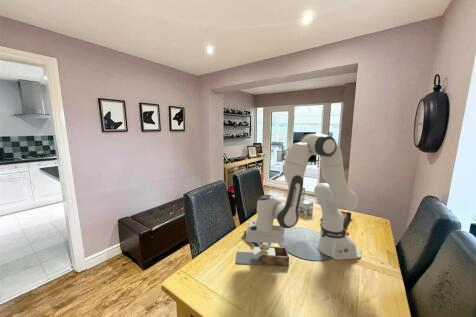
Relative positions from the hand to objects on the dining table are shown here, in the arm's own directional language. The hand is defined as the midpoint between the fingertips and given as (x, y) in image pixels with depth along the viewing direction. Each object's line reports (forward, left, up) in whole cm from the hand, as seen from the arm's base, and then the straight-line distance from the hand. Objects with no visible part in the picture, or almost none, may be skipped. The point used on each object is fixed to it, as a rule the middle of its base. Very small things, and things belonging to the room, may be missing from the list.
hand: (264, 249), depth 107 cm
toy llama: (-37, -65, -7) cm, 75 cm away
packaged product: (+5, -18, -7) cm, 20 cm away
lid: (0, 0, -2) cm, 2 cm away
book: (-57, -51, -7) cm, 77 cm away
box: (-6, 0, -6) cm, 8 cm away
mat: (+9, 0, -6) cm, 11 cm away
